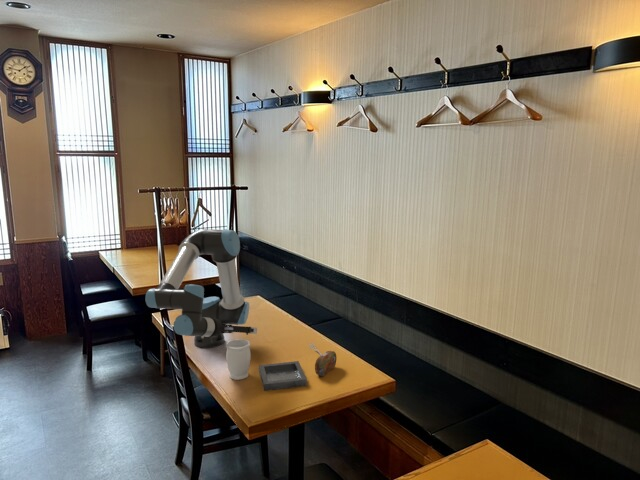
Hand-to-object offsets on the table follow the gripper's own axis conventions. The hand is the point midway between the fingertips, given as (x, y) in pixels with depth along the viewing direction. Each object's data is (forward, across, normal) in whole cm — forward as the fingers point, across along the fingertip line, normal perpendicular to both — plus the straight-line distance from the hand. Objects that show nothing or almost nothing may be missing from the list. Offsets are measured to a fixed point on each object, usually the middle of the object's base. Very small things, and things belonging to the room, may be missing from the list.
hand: (244, 330), depth 201 cm
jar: (+3, -4, -20) cm, 20 cm away
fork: (+39, +15, -10) cm, 43 cm away
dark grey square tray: (+11, +14, -20) cm, 26 cm away
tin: (+27, +26, -16) cm, 41 cm away
